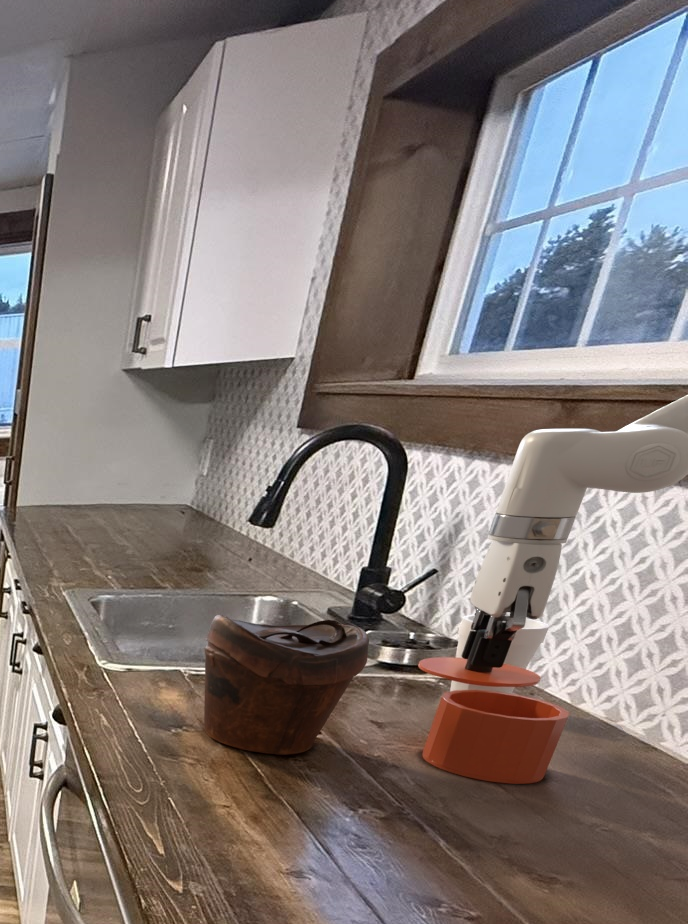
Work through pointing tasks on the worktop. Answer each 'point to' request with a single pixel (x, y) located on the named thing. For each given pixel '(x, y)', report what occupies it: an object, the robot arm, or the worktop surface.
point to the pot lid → (478, 671)
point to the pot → (494, 736)
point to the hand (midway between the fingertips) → (481, 661)
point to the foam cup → (517, 653)
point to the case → (277, 681)
